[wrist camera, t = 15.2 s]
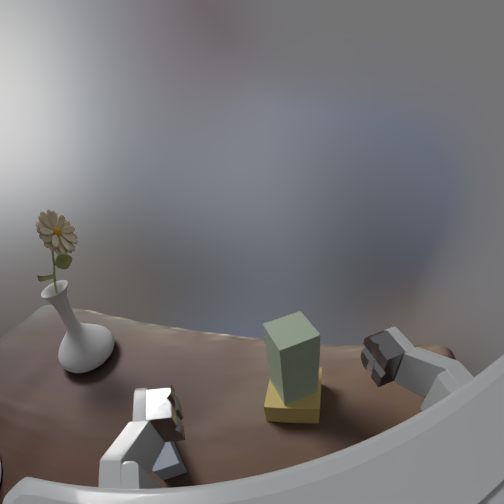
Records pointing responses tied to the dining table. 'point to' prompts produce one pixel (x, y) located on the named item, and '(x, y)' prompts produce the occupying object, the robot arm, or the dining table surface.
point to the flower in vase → (77, 334)
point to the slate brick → (169, 462)
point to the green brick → (293, 356)
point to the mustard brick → (293, 406)
